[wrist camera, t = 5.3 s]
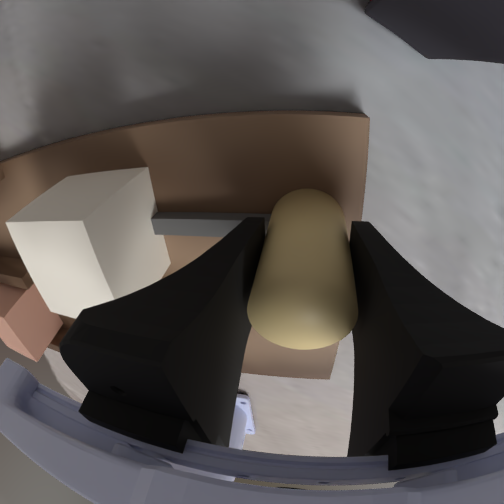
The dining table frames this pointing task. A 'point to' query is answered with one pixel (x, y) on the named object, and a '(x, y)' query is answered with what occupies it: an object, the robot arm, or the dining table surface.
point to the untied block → (26, 321)
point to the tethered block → (188, 224)
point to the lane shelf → (207, 188)
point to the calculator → (446, 27)
